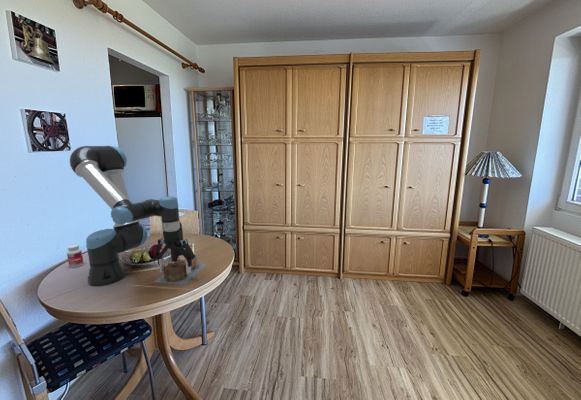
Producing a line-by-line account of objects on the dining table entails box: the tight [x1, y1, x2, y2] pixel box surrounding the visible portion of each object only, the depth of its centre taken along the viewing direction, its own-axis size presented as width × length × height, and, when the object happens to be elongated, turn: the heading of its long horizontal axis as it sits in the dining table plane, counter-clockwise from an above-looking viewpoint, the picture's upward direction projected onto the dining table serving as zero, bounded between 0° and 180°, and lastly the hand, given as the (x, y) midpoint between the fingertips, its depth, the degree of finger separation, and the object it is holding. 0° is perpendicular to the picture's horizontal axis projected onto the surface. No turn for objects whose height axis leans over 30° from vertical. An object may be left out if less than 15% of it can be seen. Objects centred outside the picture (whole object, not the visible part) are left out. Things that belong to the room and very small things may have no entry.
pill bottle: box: [66, 244, 84, 268], centre depth 143 cm, size 6×6×11 cm
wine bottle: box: [169, 219, 185, 263], centre depth 147 cm, size 7×7×30 cm
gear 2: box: [177, 253, 198, 270], centre depth 138 cm, size 10×10×7 cm
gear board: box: [153, 262, 207, 285], centre depth 133 cm, size 16×22×5 cm
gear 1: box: [163, 261, 187, 282], centre depth 128 cm, size 10×10×6 cm
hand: (175, 271), depth 128 cm, fingers open, 13 cm apart
